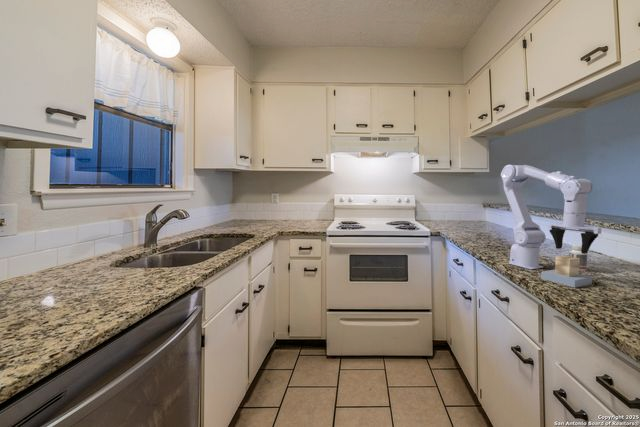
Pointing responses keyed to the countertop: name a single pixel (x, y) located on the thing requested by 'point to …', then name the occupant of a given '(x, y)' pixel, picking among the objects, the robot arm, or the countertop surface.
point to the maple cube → (567, 265)
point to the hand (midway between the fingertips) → (571, 250)
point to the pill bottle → (579, 256)
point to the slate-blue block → (566, 279)
